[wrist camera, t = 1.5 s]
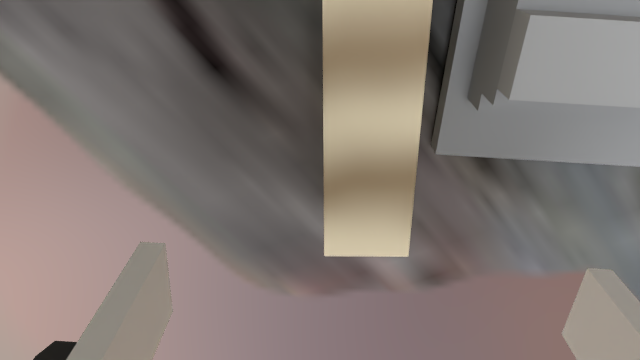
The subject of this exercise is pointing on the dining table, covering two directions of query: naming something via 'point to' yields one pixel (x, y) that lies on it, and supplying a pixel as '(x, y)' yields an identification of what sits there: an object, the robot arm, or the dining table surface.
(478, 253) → the dining table surface
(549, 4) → the fulcrum
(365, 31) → the bar
